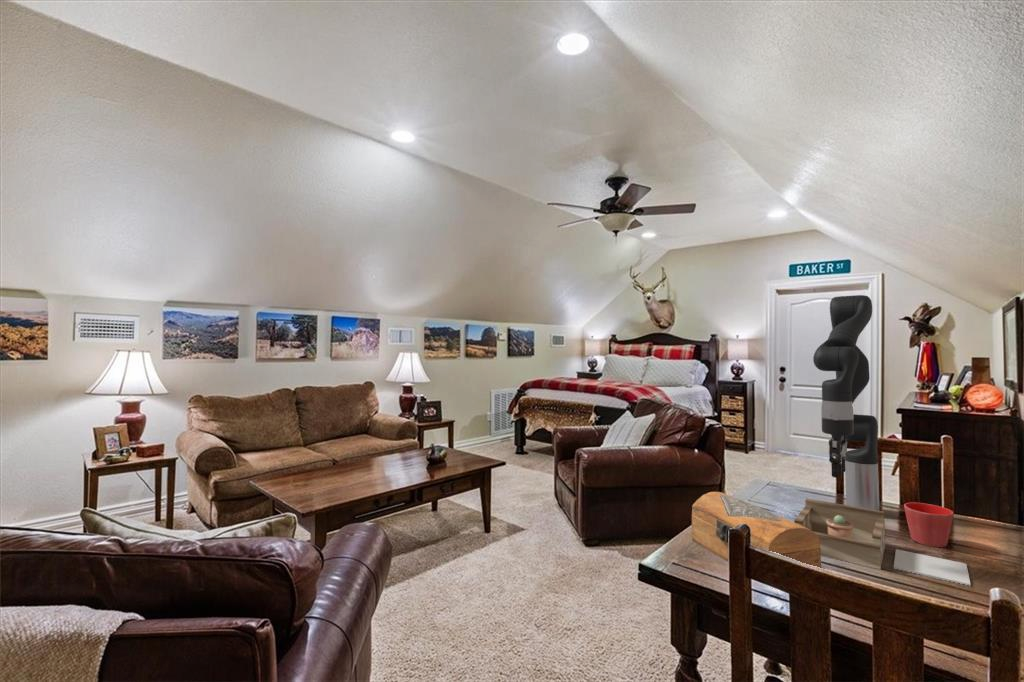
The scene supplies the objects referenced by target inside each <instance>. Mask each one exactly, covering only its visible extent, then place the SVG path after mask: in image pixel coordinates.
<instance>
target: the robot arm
mask: <svg viewBox="0 0 1024 682" xmlns="http://www.w3.org/2000/svg"><path fill="white" fill-rule="evenodd" d="M829 315H830V322H831V328H832V330H831V331H830V332H829V336H828V338H827V339H826V340H825V341H824V342H822V343H821V344H820V345H819V346H818V347H817V348H816V349H815V351H814V354H813V359H812V360H813V364H814V366H815V368H816V369H818V370H819V371H822V372H835V378H832V379H826V380H824V381H822V384H821V400H822V401H821V413H820V414H821V432H822V433H823V434H827V435H830V436H831V438H830V439H828V446H829V448H828V454H829V456H828V457H829V460H828V461H829V463H831V477H832V478H836V479H837V478H838V479H842V473H844V476H845V477H844V478H845V479H844V481H845V485H844V486H845V487H844V488H845V505H848V506H854V507H860V508H866V509H872V510H878V511H880V490H879V489H880V488H879V487H880V486H879V485H880V484H879V458H878V457H879V456H878V455H879V454H878V441H879V440H878V438H879V437H878V436H879V424H878V420H877V417H876V416H874V415H868V414H854V407H853V404H854V402H855V401H856V399H857V398H858V396H859V395H860V394H862V392H863V391H864V389H866V386H867V385H868V384H869V381H870V379H871V378H870V363H869V359H868V357H867V356H866V355H865V354H864V352H863V351H862V350H861V349H860V348H859V347H858V346H857V342H858V338H859V336H860V335H861V333H862V332H863V331H864V330H865V328H866V327H867V325H868V324H869V322H870V321H871V319H872V316H873V304H872V299H871V298H870V296H868V295H864V294H863V295H861V294H859V295H845V296H843V295H841V296H840V295H839V296H834V297H833V298H831V300H830V303H829ZM848 441H851V442H860V443H861V442H862V443H865V445H864V446H861V447H859V448H856V449H850V450H848Z"/></svg>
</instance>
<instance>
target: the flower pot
mask: <svg viewBox="0 0 1024 682" xmlns="http://www.w3.org/2000/svg"><path fill="white" fill-rule="evenodd" d="M903 507H904V508H903V509H904V512H905V517H906V521H907V525H908V530H909V535H910V537H911V540H913V541H914V542H916V543H919V544H920V545H924V546H929V547H934V548H935V547H936V548H945V547H947V546H948V543H949V538H950V535H951V530H952V525H953V521H954V511H953V510H951V509H949V508H946V507H943V506H941V505H940V506H939V505H937V504H936V505H935V504H929V503H924V502H913V501H912V502H907V503H904V504H903Z"/></svg>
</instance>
